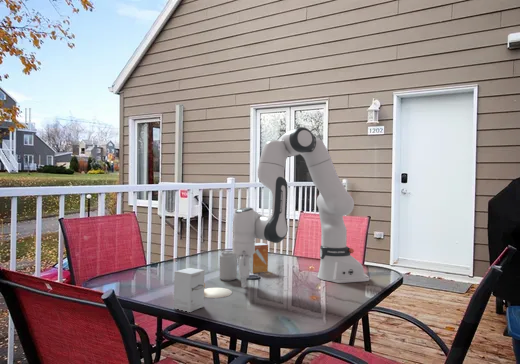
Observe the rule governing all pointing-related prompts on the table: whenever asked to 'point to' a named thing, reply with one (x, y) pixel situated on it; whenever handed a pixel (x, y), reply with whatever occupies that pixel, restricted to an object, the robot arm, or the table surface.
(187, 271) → the supplement box
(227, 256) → the can
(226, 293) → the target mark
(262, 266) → the small box
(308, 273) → the table surface
